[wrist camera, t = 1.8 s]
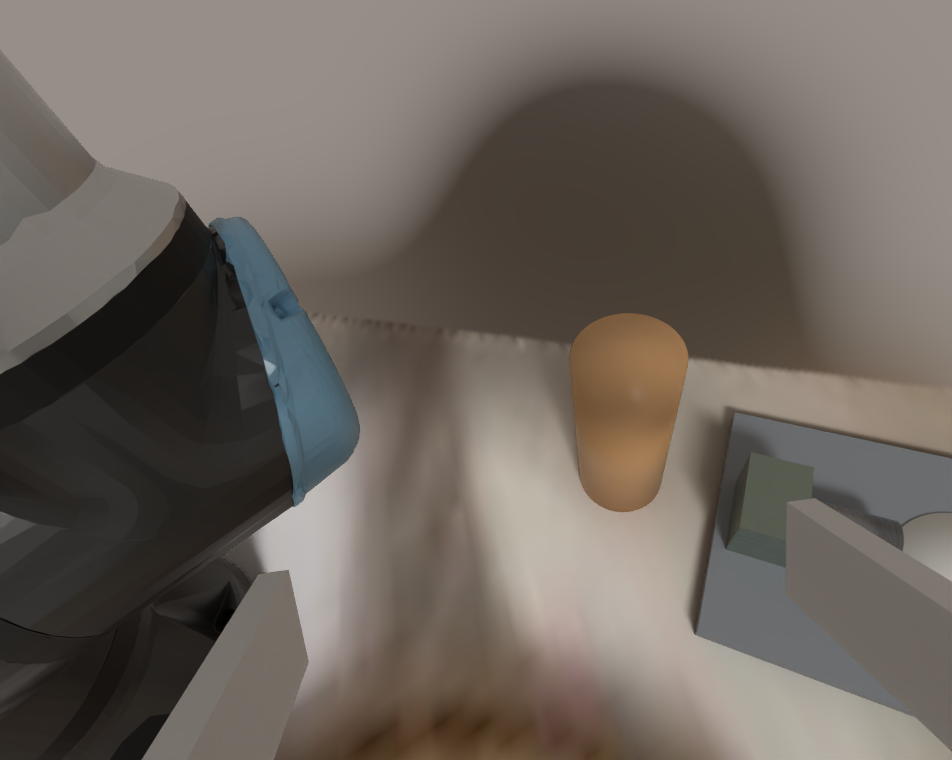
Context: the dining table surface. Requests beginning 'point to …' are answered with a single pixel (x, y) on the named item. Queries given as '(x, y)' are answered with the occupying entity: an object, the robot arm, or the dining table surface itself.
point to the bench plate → (764, 584)
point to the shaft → (783, 509)
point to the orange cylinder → (625, 406)
